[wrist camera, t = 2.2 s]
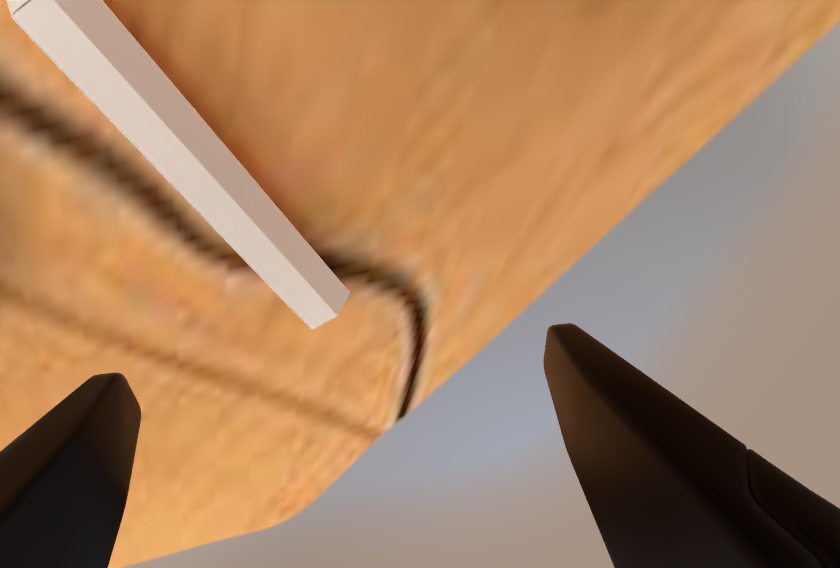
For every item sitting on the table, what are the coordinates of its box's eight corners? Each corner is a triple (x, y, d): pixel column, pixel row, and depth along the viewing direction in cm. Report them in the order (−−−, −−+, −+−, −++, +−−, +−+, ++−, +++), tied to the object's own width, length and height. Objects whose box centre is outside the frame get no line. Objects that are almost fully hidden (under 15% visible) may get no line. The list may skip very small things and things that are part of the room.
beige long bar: (-10, -116, 15) (333, 281, 23) (-80, -75, 14) (296, 315, 23) (-24, -154, 13) (359, 298, 21) (-107, -107, 12) (319, 336, 21)
